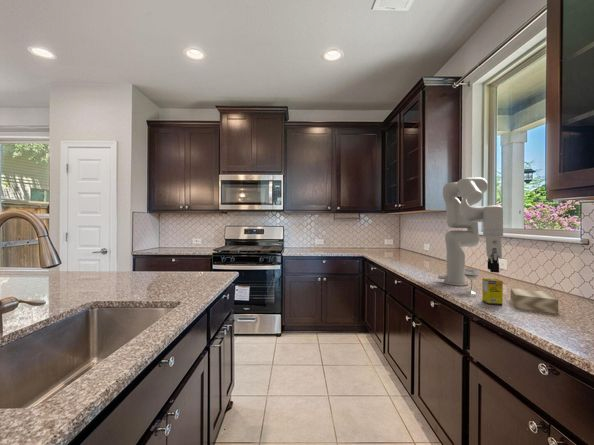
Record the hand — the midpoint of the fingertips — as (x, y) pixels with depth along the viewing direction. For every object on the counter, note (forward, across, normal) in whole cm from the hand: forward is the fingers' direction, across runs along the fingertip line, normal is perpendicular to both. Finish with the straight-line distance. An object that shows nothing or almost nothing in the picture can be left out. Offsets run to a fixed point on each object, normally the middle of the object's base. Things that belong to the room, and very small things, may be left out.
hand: (493, 270), depth 129 cm
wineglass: (+15, +19, +7) cm, 25 cm away
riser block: (+15, +4, -15) cm, 22 cm away
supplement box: (+15, +1, 0) cm, 15 cm away
